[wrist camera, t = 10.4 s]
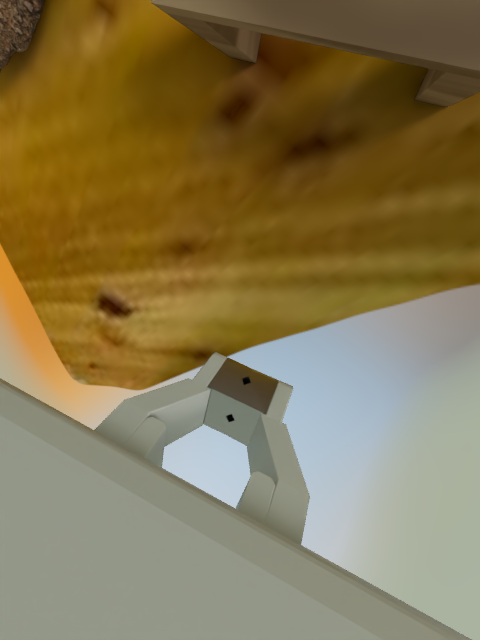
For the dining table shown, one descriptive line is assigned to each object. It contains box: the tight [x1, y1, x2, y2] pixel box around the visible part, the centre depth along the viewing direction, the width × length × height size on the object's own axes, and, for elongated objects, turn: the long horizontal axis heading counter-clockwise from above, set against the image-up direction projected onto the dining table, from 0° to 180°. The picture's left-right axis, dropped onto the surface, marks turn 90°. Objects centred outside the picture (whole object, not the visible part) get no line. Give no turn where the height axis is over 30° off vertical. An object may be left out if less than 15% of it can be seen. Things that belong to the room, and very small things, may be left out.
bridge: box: [151, 0, 480, 107], centre depth 15 cm, size 3×15×10 cm, turn 77°
